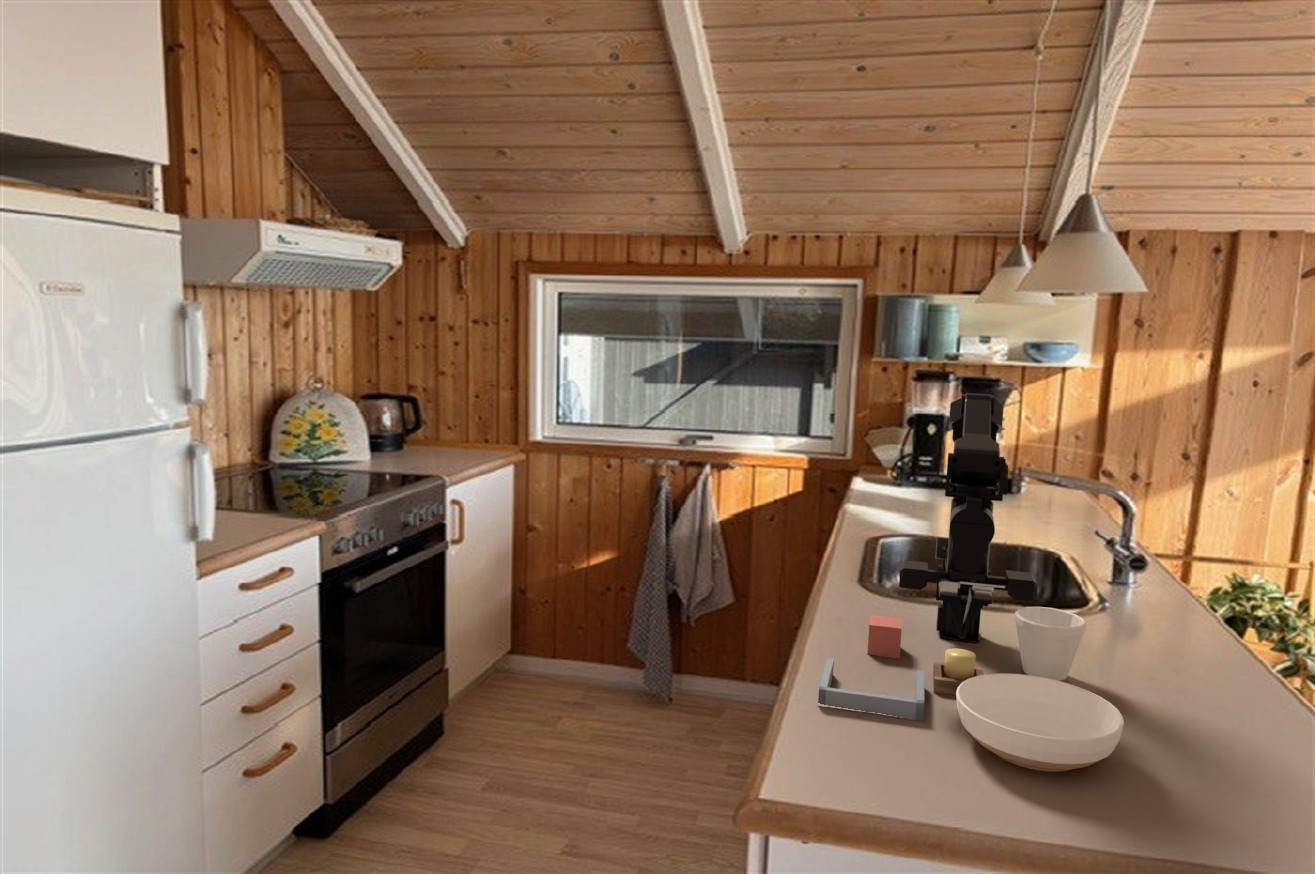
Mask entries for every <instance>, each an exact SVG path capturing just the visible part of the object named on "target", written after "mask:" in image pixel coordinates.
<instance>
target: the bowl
mask: <svg viewBox="0 0 1315 874" xmlns="http://www.w3.org/2000/svg"><path fill="white" fill-rule="evenodd" d="M955 696H956V707H957V708H956V709H957V711H958V715H959V719H960V722H961V724H962V726H963V727H964V729H965V730H966V731H967V732H968V733H969V734H970V735H971V736H972V737H973V739H975V741H977V742H978V744H980V745H981V746H982V747H984V748H985V749H987V750H988V751H990V752H992V753H994V755H996V756H998V758H1000V759H1002V760H1004V761H1007V762H1008V763H1011V764H1014V765H1016V766H1018V767H1023V768H1026V769H1031V770H1035V771H1040V772H1052V773H1053V772H1055V773H1056V772H1065V771H1070V770H1077V769H1081V768H1082V769H1083V768H1087V767H1089V766H1092V765H1094V764H1095V763H1099V761H1101V760H1104V759H1106V758H1108V756H1110V755H1111V754H1112V753H1113V752H1114V750H1115V748H1116V746H1117V745H1118V743H1119V742H1120V739H1121V737H1122V733H1123V730H1124V725H1125V722H1124V721H1125V720H1124V717H1123V715H1122V713H1121V712H1120V710H1119V709H1118V708H1117V707H1116V706H1115V705H1113V703H1111V702H1110V701H1108V700H1106V699H1105V698H1104V697H1102V696H1100V695H1098V694H1096V693H1093V692H1092V691H1090V690H1088V689H1085V688H1083V687H1079V686H1078V685H1074V684H1071V683H1068V682H1064V681H1062V682H1061V681H1057V680H1053V679H1049V678H1044V677H1038V676H1032V675H1026V674H1022V673H1004V672H1003V673H987V674H984V675H980V676H976V677H973V678H969V679H967V680H966V681H964V682H962V683H961V684H960V685H959V687H958V688H957V692H956V695H955Z"/></svg>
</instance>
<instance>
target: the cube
mask: <svg viewBox="0 0 1315 874" xmlns="http://www.w3.org/2000/svg"><path fill="white" fill-rule="evenodd" d="M869 617H870V618H869V625H868V637H867V640H868V642H867V655H869V654H870V655H871V656H877V655H878V657H885V658H886V657H887V658H893V659H900V658H901V644H902V630H903V618H901V617H893V616H891V617H890V616H883V615H873V614H870V616H869Z"/></svg>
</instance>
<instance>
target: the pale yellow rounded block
mask: <svg viewBox="0 0 1315 874" xmlns="http://www.w3.org/2000/svg"><path fill="white" fill-rule="evenodd" d="M944 663H945V665H944V674H945V675H946V676H948V677H950V678H953V679H959V680H967V679H969V678H973V677H974V669H975V667H976V666H975V665H976V653H974V652H973V651H970V650H968V649H966V648H965V649H964V648H957V647H956V648H948V649H946V650H945V655H944Z"/></svg>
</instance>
